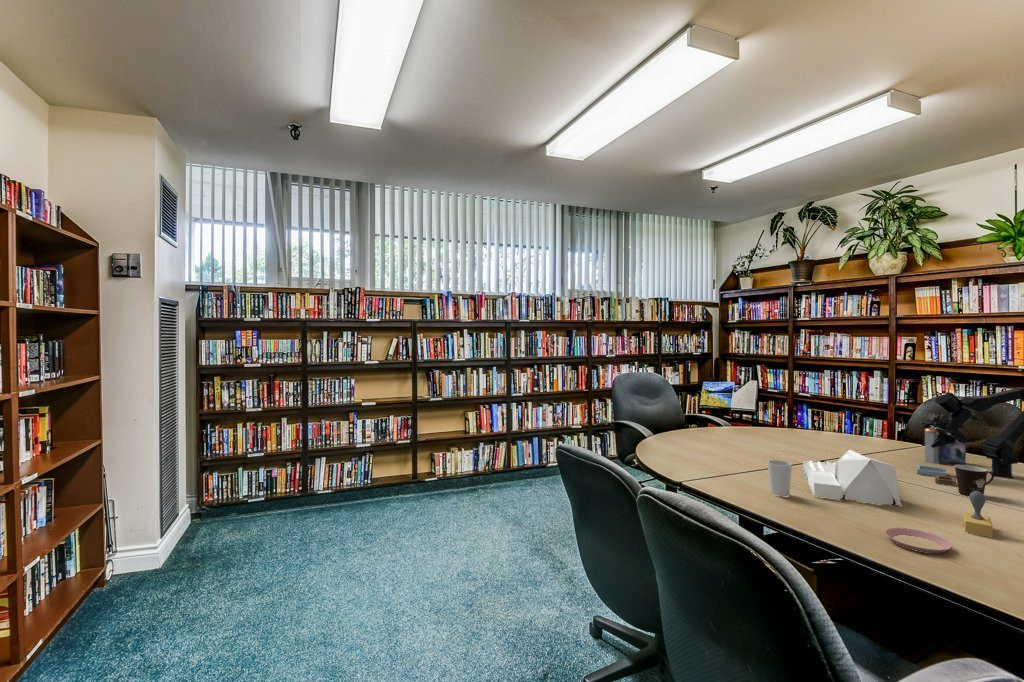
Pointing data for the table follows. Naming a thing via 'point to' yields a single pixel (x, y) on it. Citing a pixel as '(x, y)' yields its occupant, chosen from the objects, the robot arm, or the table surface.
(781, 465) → the cup
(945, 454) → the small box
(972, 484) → the coffee mug
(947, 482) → the block
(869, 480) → the white faceted model
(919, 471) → the tray
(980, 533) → the rubber stamp
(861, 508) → the table surface
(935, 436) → the pin
